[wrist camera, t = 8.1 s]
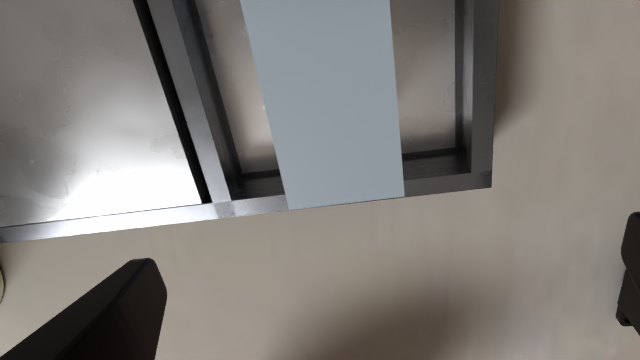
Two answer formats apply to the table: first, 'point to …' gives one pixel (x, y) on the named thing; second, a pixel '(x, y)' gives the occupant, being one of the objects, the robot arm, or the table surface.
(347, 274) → the table surface
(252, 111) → the grey compartment tray
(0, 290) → the coffee can
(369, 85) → the pale grey rectangular block
